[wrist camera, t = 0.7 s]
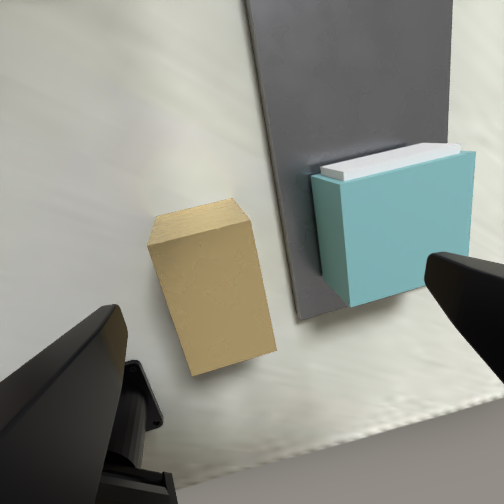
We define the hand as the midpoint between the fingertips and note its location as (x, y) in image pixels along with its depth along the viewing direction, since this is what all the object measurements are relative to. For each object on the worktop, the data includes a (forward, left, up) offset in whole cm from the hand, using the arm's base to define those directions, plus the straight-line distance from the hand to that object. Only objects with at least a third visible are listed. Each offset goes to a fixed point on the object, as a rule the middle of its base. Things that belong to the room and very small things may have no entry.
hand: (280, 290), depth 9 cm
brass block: (-4, +2, -13) cm, 14 cm away
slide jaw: (-3, -10, -11) cm, 15 cm away
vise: (+3, -10, -13) cm, 16 cm away
